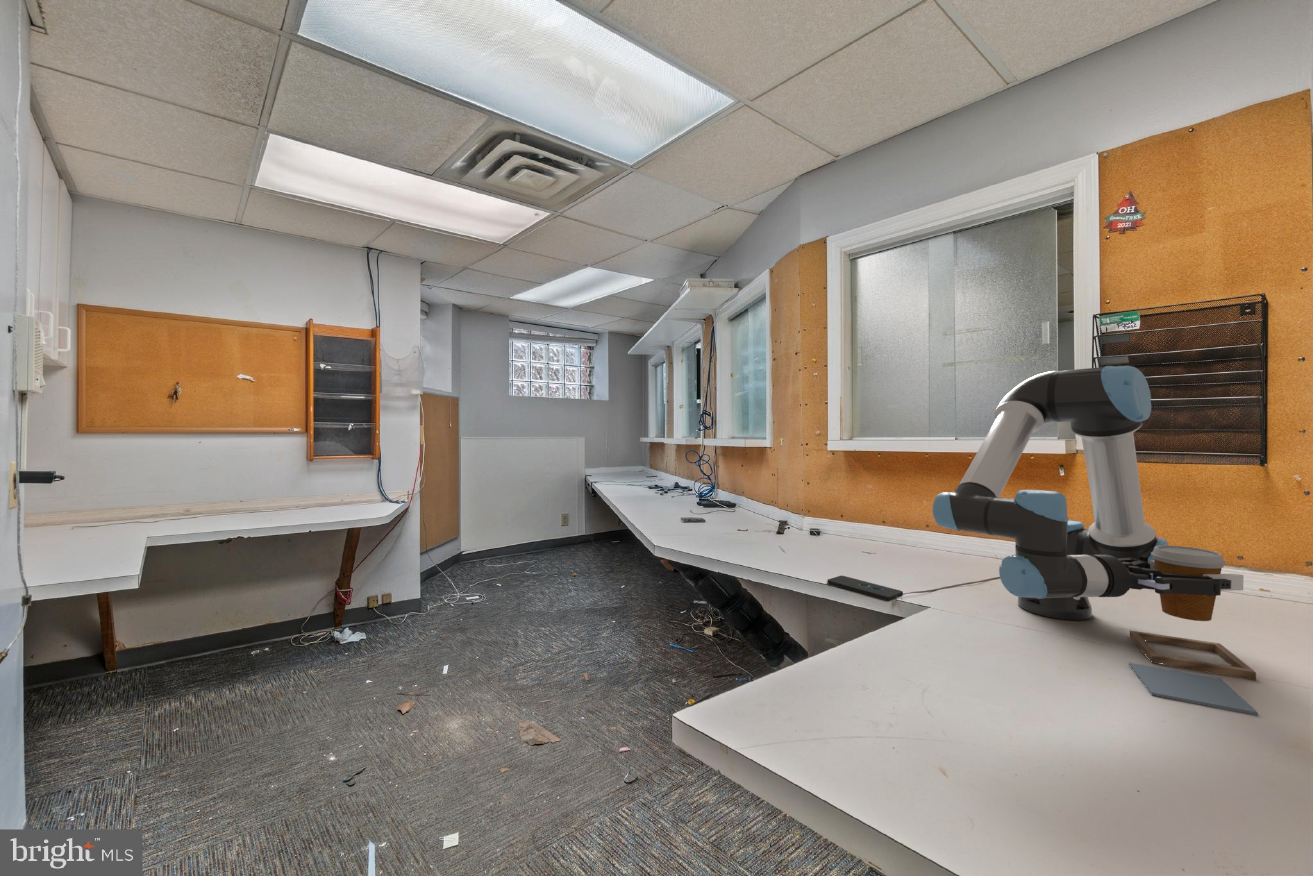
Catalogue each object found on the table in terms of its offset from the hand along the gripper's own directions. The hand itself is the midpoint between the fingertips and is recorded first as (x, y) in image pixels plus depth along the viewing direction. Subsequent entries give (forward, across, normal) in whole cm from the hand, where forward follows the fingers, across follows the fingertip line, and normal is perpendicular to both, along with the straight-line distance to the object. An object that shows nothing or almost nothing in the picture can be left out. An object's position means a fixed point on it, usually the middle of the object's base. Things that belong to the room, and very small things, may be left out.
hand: (1211, 574), depth 93 cm
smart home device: (-40, -57, -21) cm, 73 cm away
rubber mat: (-6, +1, -20) cm, 21 cm away
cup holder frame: (+8, -11, -20) cm, 24 cm away
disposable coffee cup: (-5, 0, -8) cm, 9 cm away
